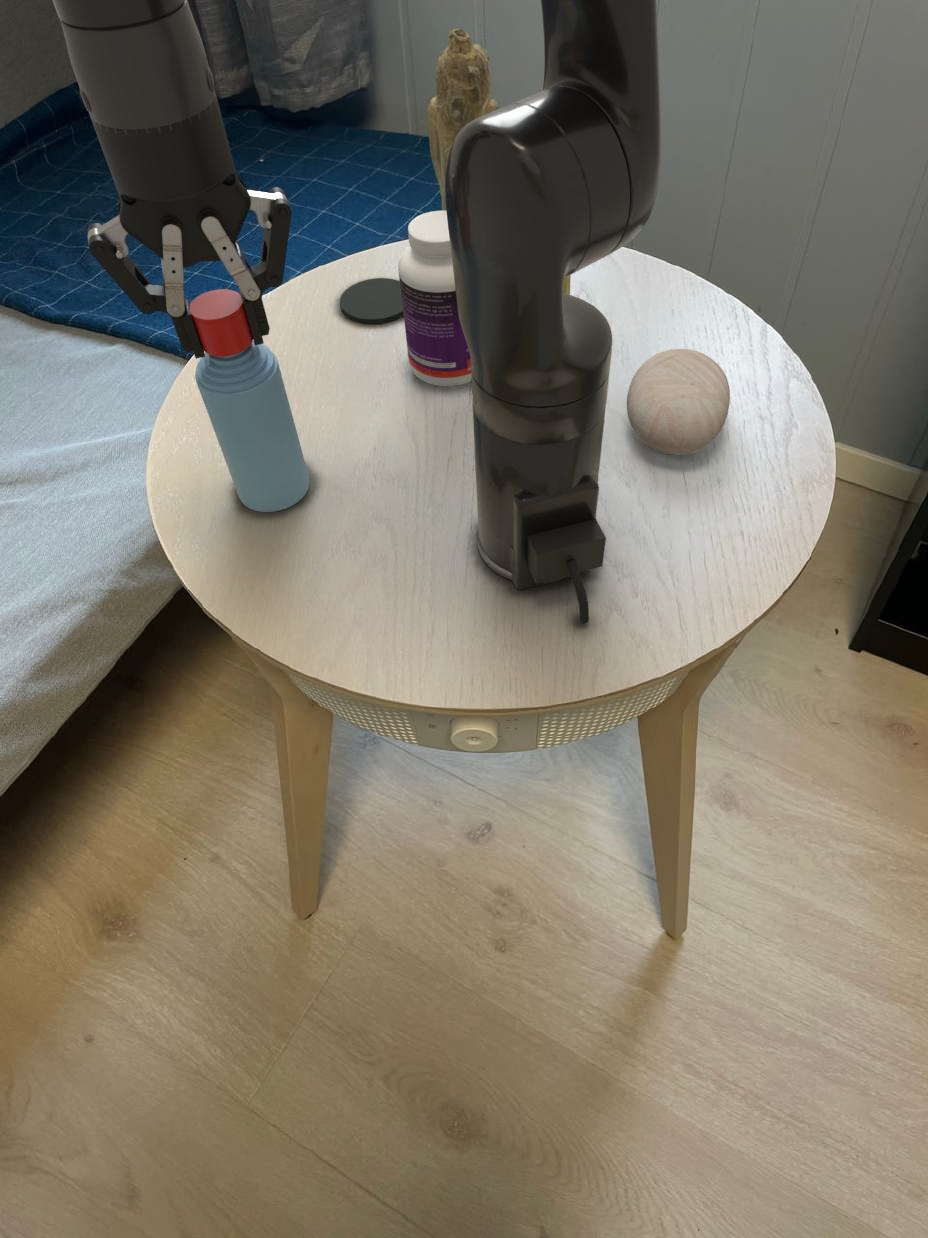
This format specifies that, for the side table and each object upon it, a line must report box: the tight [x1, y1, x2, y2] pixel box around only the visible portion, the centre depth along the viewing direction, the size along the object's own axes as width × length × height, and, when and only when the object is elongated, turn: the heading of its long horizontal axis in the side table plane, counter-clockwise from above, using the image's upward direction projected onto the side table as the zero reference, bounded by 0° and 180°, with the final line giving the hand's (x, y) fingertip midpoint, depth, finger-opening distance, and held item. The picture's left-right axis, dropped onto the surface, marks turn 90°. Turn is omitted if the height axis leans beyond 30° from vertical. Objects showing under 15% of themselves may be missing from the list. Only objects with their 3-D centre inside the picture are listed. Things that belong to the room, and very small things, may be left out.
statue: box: [426, 27, 500, 211], centre depth 84 cm, size 7×8×25 cm
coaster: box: [339, 277, 404, 325], centre depth 93 cm, size 8×8×1 cm
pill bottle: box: [397, 210, 472, 387], centre depth 80 cm, size 8×8×14 cm
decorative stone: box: [626, 348, 731, 455], centre depth 76 cm, size 13×9×5 cm
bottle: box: [194, 340, 311, 513], centre depth 69 cm, size 6×6×17 cm
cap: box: [189, 288, 254, 357], centre depth 63 cm, size 4×4×3 cm
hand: (228, 344), depth 64 cm, fingers closed on cap, 4 cm apart
